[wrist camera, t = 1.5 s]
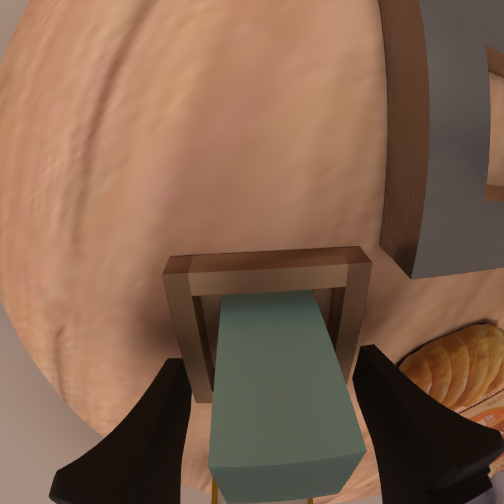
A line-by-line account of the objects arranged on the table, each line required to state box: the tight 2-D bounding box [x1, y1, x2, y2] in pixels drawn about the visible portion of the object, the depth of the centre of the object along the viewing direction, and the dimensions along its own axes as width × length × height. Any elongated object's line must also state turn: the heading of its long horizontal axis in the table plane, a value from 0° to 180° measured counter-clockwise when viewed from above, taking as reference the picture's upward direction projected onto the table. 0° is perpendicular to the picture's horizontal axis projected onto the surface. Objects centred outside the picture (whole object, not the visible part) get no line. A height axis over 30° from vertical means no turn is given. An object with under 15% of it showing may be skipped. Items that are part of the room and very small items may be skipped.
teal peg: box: [208, 289, 367, 504], centre depth 10 cm, size 4×4×8 cm
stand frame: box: [162, 246, 372, 403], centre depth 13 cm, size 8×8×2 cm
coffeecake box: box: [459, 390, 504, 478], centre depth 13 cm, size 15×7×20 cm, turn 99°
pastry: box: [399, 323, 504, 411], centre depth 15 cm, size 9×7×4 cm
